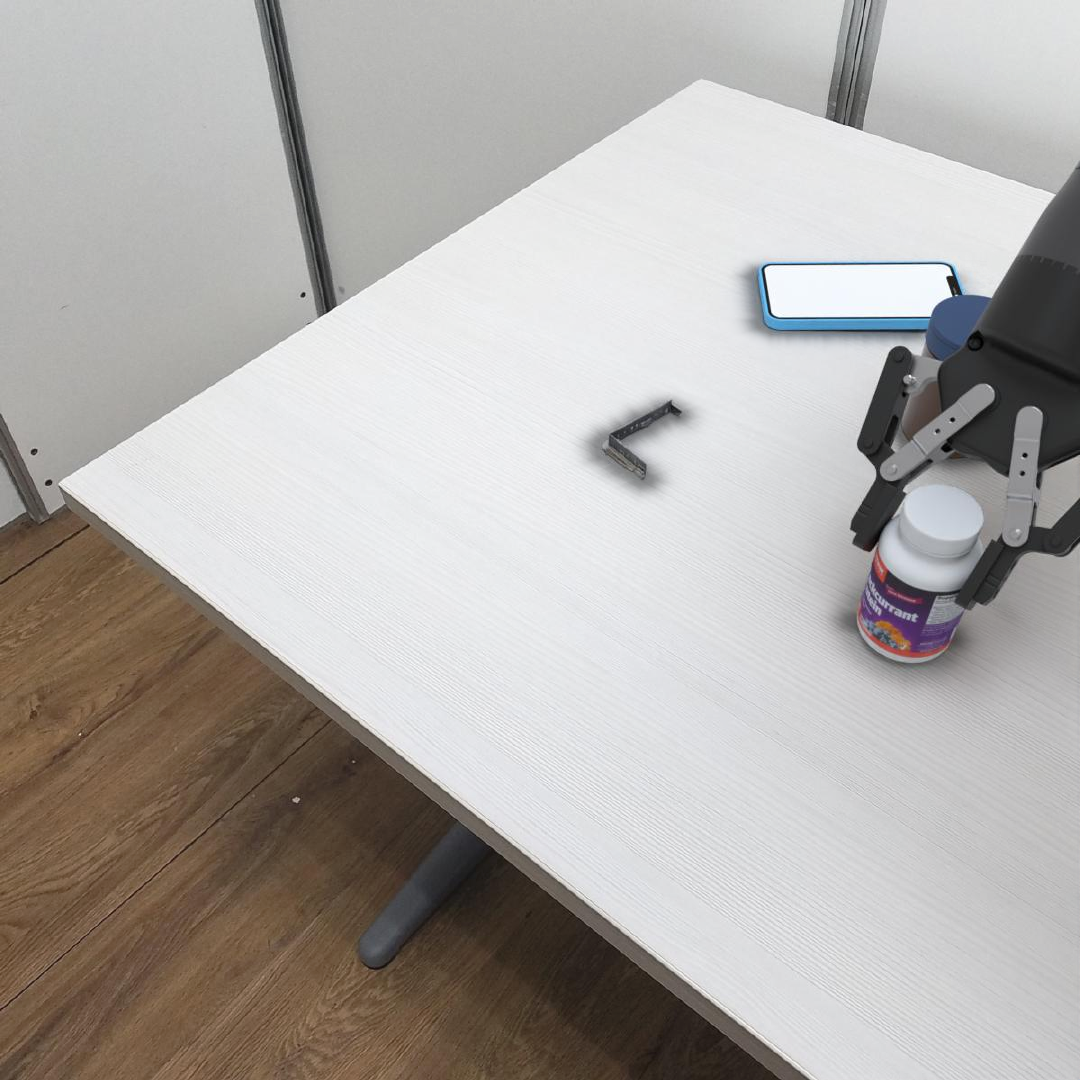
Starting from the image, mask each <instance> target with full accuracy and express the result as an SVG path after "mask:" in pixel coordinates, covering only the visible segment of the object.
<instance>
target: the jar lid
mask: <svg viewBox="0 0 1080 1080" xmlns="http://www.w3.org/2000/svg"><path fill="white" fill-rule="evenodd" d="M991 298H992V297H989V296H985V295H977V294H965V295H959V296H953V297H950V298H947V299H945V300H943V301H941V302H940V303H938V304H937V305H936V306H935V308H934V309H933V311H932V314H931V318H930V321H929V324H928V328H927V329H926V331H925V338H924V339H925V341H926V344H927V346H928V348H929V350H930V351H931V352H932V353H933V355H934V356H936V357H937V358H938V359H939V360H941V361H944V360H945V359H946V358H947V357H949V356H950V355H952V354H954V353H955V352H956V351H958V350H959V349H960V348H961V347H962V346H963V345H964V343H965V342H966V341H967V339H968V337H969V335H970V333H971V332H972V330H973V328H974V327H975V325H976V323H977V322H978V320H979V318H980V317H981V315H982V313H983V312H984V310H985V308H986V307H987V305H988V303H989V301H990V300H991Z"/></svg>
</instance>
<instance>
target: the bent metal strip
mask: <svg viewBox="0 0 1080 1080" xmlns="http://www.w3.org/2000/svg"><path fill="white" fill-rule="evenodd" d="M669 412H672V413H676V414H678V415H681V414H683V410H682V409H681V408H680V407H678V406H677V405H675V402H674V400H673V398H671V399H669V400H666V402H664V403H662V404H661V405H659V406H656V407H655V408H654V409H652V410H649V411H648V412H646V413H644V414H643V415H641V416H639V417H636V418H635V419H633V420H631V421H630V422H627V423H625V424H624V425H619V427H618V428H615V429H613V430H611V431H610V432H609V433H608V434H609V435H608V438H607V439H605V440H604V441H603V444H602V445H601V447H602V451H603V452H604V455H608V456H610V458H612V459H614V460H615V461H616V462H617V463H619V464H620V465H621V466H622V467H624V468H627V469H628V470H629V471H630V472H632V473H633V472H634V473H635V474H636V476H637V477H639V478H640V480H644V477H645V476H646V475H647V467H648V465H647V463H646V462H645V461H643V460H642V459H641V458H640V457H639V456H638V455H636V454H635V453H633V452H632V451H631V450H630V449H629V447H628V446H625V444H623V443H622V439H624V438H625V437H627V436H629V435H631V434H633V433H634V432H635V431H638V430H639V429H642V428H645V427H647V426H650V425H651V423H652V422H654V421H656V420H657V419H659V418H661V417H662V416H664V415H666V414H667V413H669Z"/></svg>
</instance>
